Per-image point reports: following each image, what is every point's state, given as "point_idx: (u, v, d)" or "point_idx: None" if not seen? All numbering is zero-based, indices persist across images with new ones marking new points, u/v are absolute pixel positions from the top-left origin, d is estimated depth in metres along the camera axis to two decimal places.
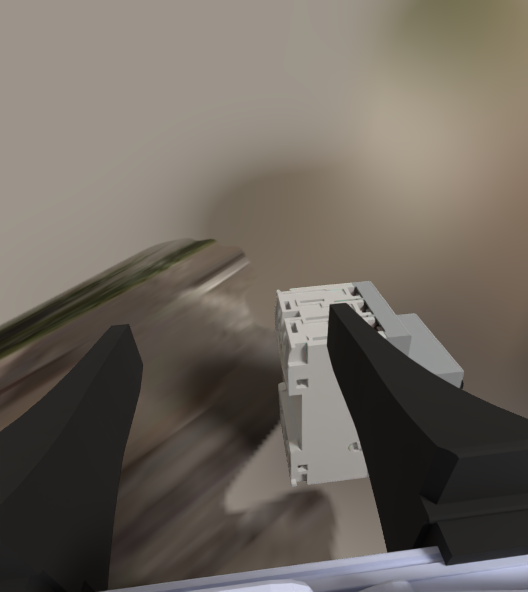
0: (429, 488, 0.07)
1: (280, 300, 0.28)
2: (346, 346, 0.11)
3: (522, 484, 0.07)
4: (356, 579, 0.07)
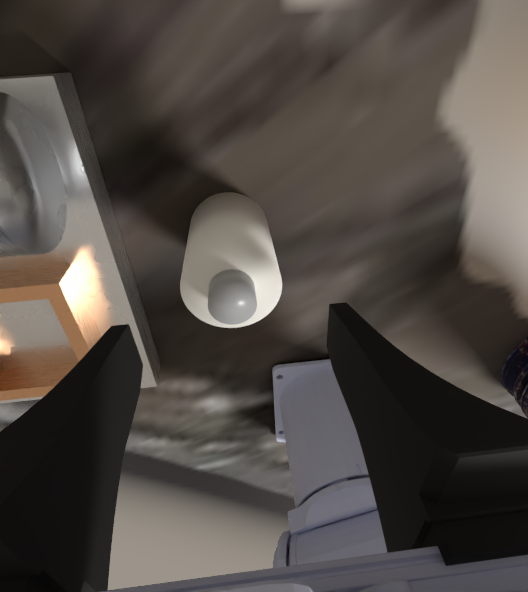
0: (429, 488, 0.07)
1: None
2: (346, 346, 0.11)
3: (522, 484, 0.07)
4: (356, 579, 0.07)
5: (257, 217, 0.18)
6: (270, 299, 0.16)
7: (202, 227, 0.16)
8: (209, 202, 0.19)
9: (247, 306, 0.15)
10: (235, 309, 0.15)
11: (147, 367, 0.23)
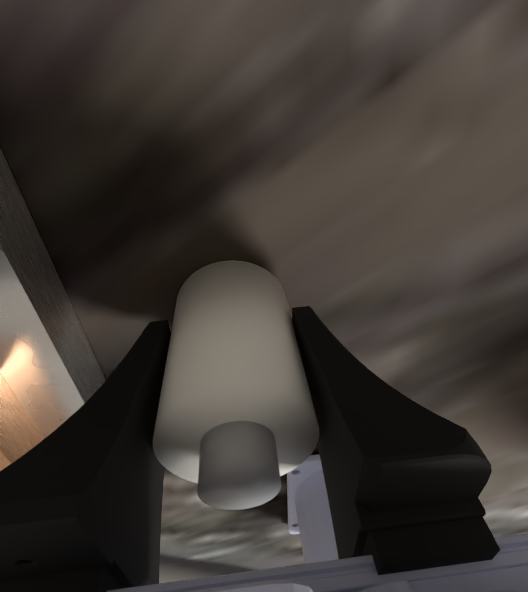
0: (362, 497, 0.07)
1: None
2: (304, 351, 0.11)
3: (456, 492, 0.07)
4: (356, 579, 0.07)
5: (275, 306, 0.12)
6: (299, 452, 0.10)
7: (191, 335, 0.10)
8: (203, 278, 0.13)
9: (265, 489, 0.09)
10: (244, 493, 0.09)
11: None
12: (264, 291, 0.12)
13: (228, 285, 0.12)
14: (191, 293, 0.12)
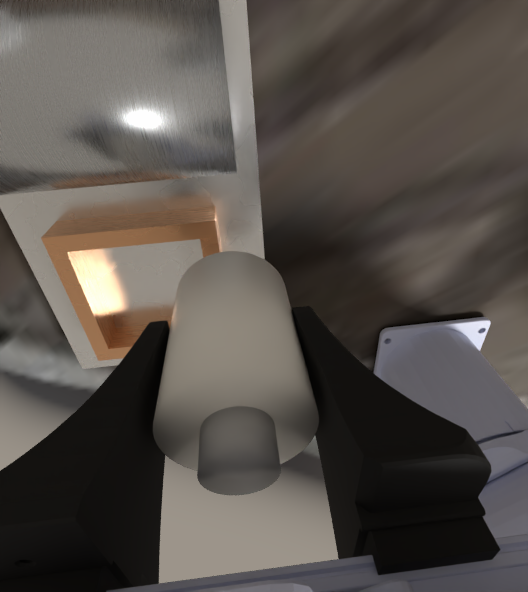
0: (362, 496, 0.07)
1: None
2: (304, 350, 0.11)
3: (456, 492, 0.07)
4: (356, 579, 0.07)
5: (278, 298, 0.12)
6: (297, 441, 0.10)
7: (194, 321, 0.10)
8: (206, 266, 0.13)
9: (264, 474, 0.09)
10: (244, 478, 0.09)
11: None
12: (267, 282, 0.12)
13: (232, 274, 0.12)
14: (194, 281, 0.12)
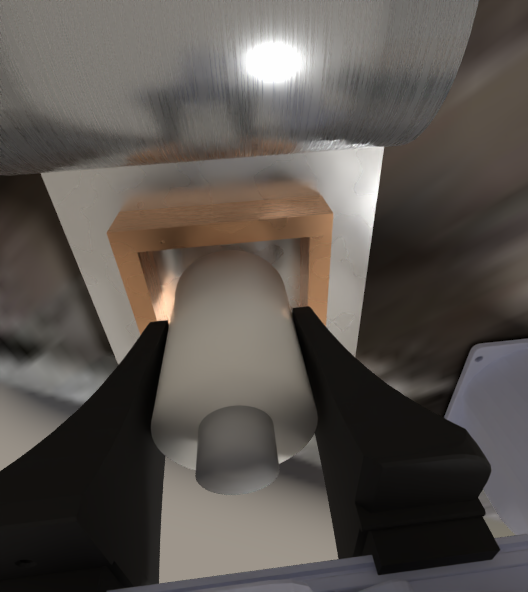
0: (362, 497, 0.07)
1: None
2: (304, 350, 0.11)
3: (456, 492, 0.07)
4: (356, 579, 0.07)
5: (277, 297, 0.12)
6: (295, 441, 0.10)
7: (194, 319, 0.10)
8: (206, 265, 0.13)
9: (262, 474, 0.09)
10: (242, 477, 0.09)
11: (353, 342, 0.18)
12: (267, 282, 0.12)
13: (232, 273, 0.12)
14: (194, 279, 0.12)
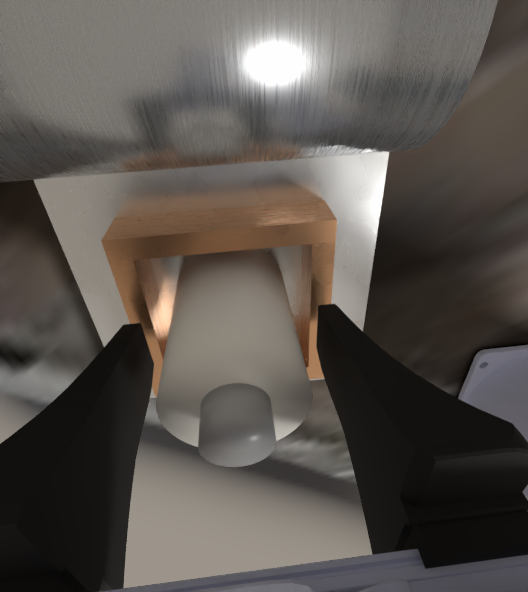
0: (409, 491, 0.07)
1: None
2: (333, 347, 0.11)
3: (502, 487, 0.07)
4: (356, 579, 0.07)
5: (275, 285, 0.12)
6: (291, 419, 0.11)
7: (196, 304, 0.11)
8: (207, 255, 0.13)
9: (260, 446, 0.09)
10: (241, 450, 0.09)
11: None
12: (265, 271, 0.13)
13: (232, 262, 0.12)
14: (195, 268, 0.13)
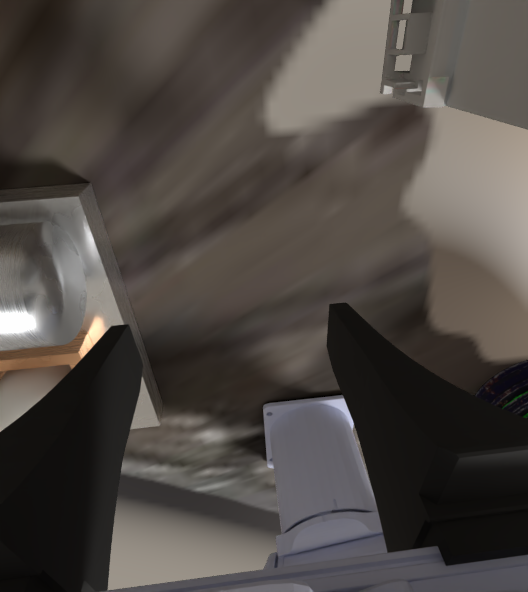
0: (429, 488, 0.07)
1: None
2: (346, 346, 0.11)
3: (522, 484, 0.07)
4: (356, 579, 0.07)
5: (50, 387, 0.21)
6: None
7: None
8: None
9: None
10: None
11: (152, 410, 0.26)
12: (47, 377, 0.21)
13: (24, 373, 0.21)
14: (5, 375, 0.21)
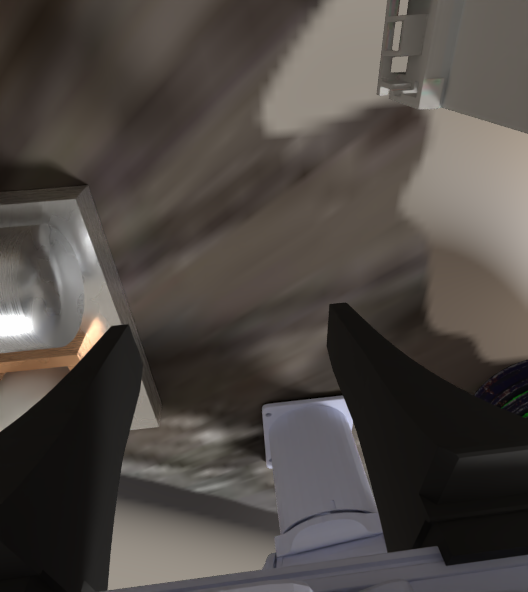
0: (429, 488, 0.07)
1: None
2: (346, 346, 0.11)
3: (522, 484, 0.07)
4: (356, 579, 0.07)
5: (50, 389, 0.21)
6: None
7: None
8: None
9: None
10: None
11: (150, 411, 0.26)
12: (47, 379, 0.21)
13: (24, 375, 0.21)
14: (5, 377, 0.21)
